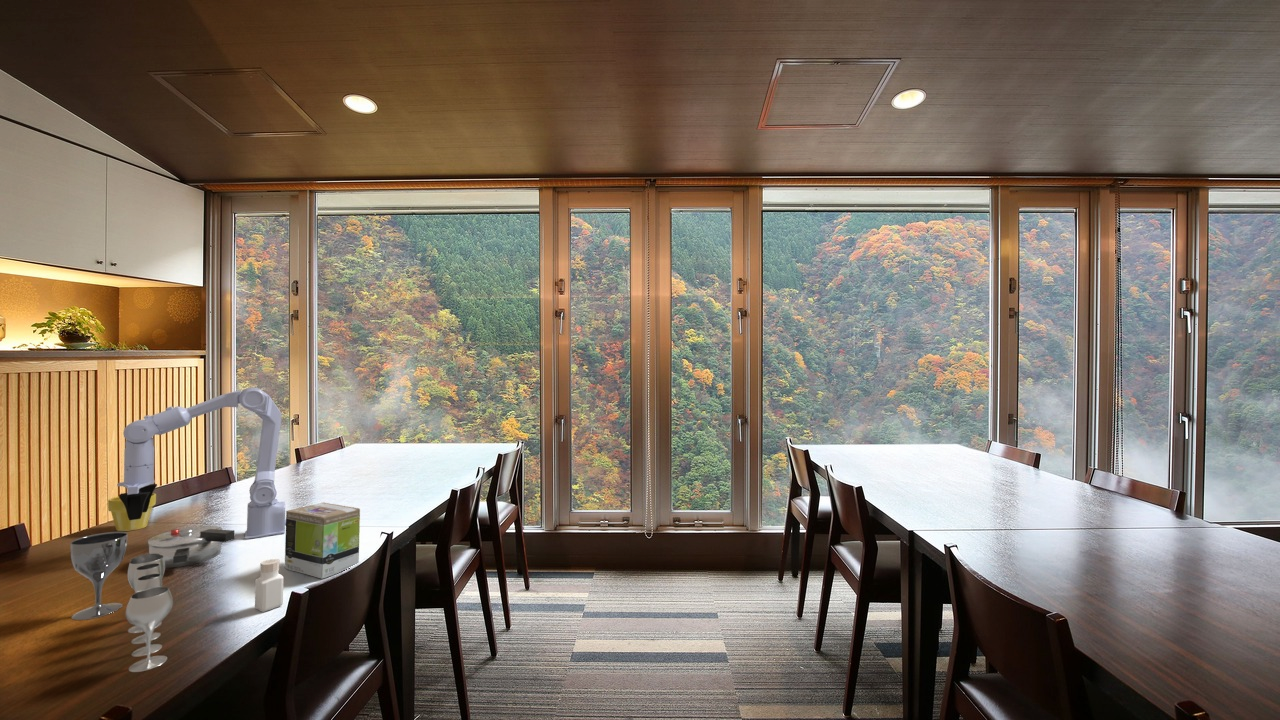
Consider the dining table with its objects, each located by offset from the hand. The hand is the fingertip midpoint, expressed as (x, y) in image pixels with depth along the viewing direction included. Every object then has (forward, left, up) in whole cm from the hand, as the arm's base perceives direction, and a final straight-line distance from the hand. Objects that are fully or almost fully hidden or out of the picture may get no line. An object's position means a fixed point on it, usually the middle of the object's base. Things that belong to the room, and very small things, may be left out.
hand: (138, 515), depth 134 cm
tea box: (-39, +39, -10) cm, 56 cm away
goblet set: (-9, +59, -10) cm, 61 cm away
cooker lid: (-13, +13, -5) cm, 19 cm away
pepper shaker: (-28, +57, -10) cm, 64 cm away
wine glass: (0, +39, -10) cm, 41 cm away
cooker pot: (-11, +14, -10) cm, 20 cm away
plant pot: (+5, -30, -10) cm, 32 cm away
